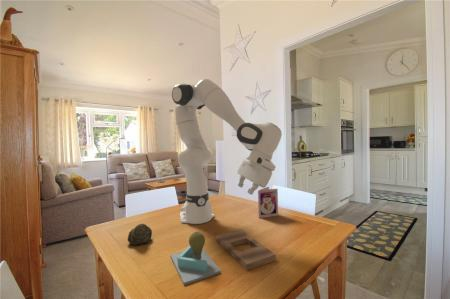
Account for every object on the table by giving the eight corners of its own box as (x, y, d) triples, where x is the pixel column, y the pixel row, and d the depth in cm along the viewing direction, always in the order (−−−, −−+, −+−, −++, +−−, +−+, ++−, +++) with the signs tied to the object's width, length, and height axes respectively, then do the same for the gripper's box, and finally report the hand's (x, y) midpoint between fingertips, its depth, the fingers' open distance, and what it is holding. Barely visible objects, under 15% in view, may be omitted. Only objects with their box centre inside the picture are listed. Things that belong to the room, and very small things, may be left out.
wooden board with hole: (216, 240, 91) (216, 236, 91) (240, 234, 97) (240, 229, 97) (247, 270, 70) (246, 264, 70) (276, 259, 75) (276, 254, 75)
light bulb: (190, 256, 78) (189, 229, 77) (205, 255, 78) (204, 228, 78) (189, 265, 72) (187, 236, 72) (205, 264, 73) (204, 235, 72)
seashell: (119, 236, 85) (144, 234, 85) (128, 212, 95) (151, 210, 95) (127, 251, 92) (151, 250, 92) (135, 227, 101) (157, 226, 102)
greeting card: (259, 218, 115) (258, 190, 115) (254, 214, 123) (253, 187, 122) (278, 216, 118) (278, 188, 118) (272, 211, 125) (272, 186, 125)
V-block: (170, 256, 80) (170, 246, 80) (201, 248, 85) (200, 239, 85) (184, 285, 64) (183, 272, 63) (220, 272, 69) (220, 261, 69)
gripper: (242, 153, 99) (229, 180, 98) (265, 161, 80) (249, 195, 79) (252, 158, 101) (240, 185, 101) (278, 168, 82) (262, 201, 82)
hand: (244, 190), depth 90 cm, fingers open, 8 cm apart
